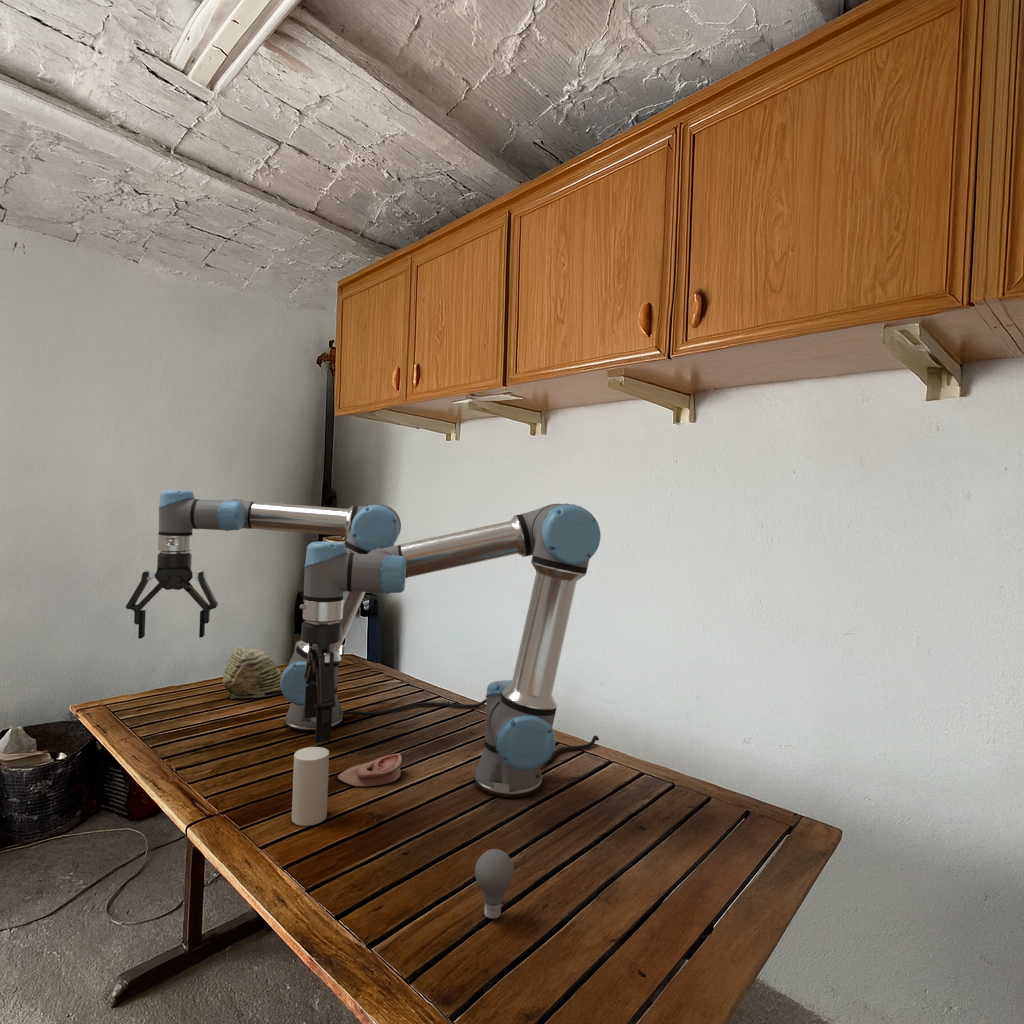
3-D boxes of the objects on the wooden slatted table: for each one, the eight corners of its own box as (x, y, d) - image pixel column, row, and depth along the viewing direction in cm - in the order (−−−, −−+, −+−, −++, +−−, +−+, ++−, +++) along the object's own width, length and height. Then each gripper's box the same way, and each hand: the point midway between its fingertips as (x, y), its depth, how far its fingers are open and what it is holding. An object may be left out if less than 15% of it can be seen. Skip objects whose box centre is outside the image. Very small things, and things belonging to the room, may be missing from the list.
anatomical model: (331, 765, 140) (354, 745, 151) (331, 782, 140) (354, 762, 151) (388, 772, 137) (407, 752, 148) (387, 791, 137) (406, 769, 148)
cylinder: (326, 824, 123) (329, 758, 123) (290, 827, 121) (293, 761, 121) (326, 807, 129) (329, 745, 129) (292, 810, 127) (294, 747, 127)
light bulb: (472, 903, 100) (475, 841, 100) (510, 903, 101) (513, 841, 101) (473, 929, 94) (476, 863, 94) (513, 928, 95) (516, 862, 95)
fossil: (218, 695, 195) (220, 647, 195) (278, 685, 208) (279, 640, 207) (228, 703, 189) (230, 653, 188) (289, 692, 201) (290, 645, 201)
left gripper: (113, 552, 151) (110, 641, 151) (226, 554, 158) (223, 639, 158) (122, 549, 158) (120, 634, 158) (231, 551, 165) (228, 632, 165)
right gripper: (293, 609, 133) (288, 709, 134) (312, 635, 111) (306, 755, 111) (330, 609, 137) (325, 706, 137) (355, 633, 114) (349, 750, 115)
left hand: (172, 637), depth 158 cm, fingers open, 13 cm apart
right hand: (316, 728), depth 124 cm, fingers open, 13 cm apart
